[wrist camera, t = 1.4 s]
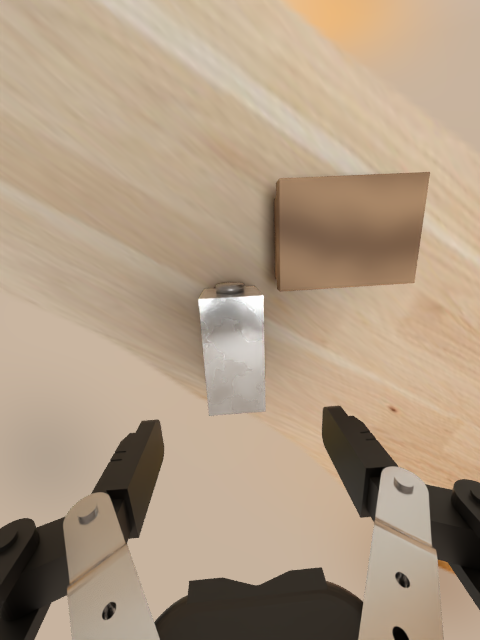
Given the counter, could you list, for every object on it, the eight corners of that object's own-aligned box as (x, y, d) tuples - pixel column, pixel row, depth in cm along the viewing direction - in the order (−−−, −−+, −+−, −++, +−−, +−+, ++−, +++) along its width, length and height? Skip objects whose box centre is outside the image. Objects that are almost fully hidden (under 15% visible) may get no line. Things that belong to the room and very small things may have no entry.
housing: (203, 282, 23) (197, 290, 18) (254, 279, 23) (263, 287, 18) (212, 387, 26) (209, 421, 21) (257, 384, 26) (265, 417, 21)
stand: (269, 192, 21) (279, 178, 17) (393, 186, 21) (430, 172, 17) (271, 284, 23) (280, 291, 19) (383, 277, 24) (414, 283, 20)
